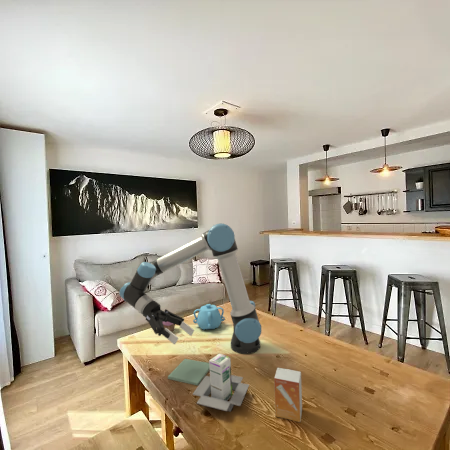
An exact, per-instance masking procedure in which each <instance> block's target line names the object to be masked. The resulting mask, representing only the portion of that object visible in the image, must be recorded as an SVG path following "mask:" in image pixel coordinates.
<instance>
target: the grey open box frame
mask: <svg viewBox="0 0 450 450" xmlns="http://www.w3.org/2000/svg"><path fill="white" fill-rule="evenodd" d="M231 378H232V391H233V393H232V394H233V395H232V396H231V397H230V398H229V401H228V400H227V401H225V400H221V399H216V398H212V397H211V396H210V395H211V383H210V375H205V377H204V378H203V379H202V381H201V382H200V383H199V385H198V386H197V387H196V389H195V390H194V392H193V393H192V395H193V396H197V397H199V398H198V400H197V402H196V405H201V406H204V407H208V408H213V409H216V410H221V411H224V412H230V413H231V411H232V410H233V408H234V406H238V407H241V406H242V403H243V401H244V398H245V397H246V393H247V392H248V389H249V386H250V384H248V383H243V382H242V381H243V379H244V377H243V376H240V375H234V374H231Z"/></svg>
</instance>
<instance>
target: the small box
mask: <svg viewBox="0 0 450 450" xmlns="http://www.w3.org/2000/svg"><path fill="white" fill-rule="evenodd" d="M273 384H274V409H275V410H274V412H275V413H274V414H275V417H278V418H282V419H285V420H289V421H293V422H297V423H301V421H302V420H301V419H302V412H303V395H302V393H303V391H302V389H303V388H302V372H301V371H300V370H299V371H298V370H293V369H288V368H282V367H276V371H275V375H274V383H273Z"/></svg>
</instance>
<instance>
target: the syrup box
mask: <svg viewBox="0 0 450 450" xmlns="http://www.w3.org/2000/svg"><path fill="white" fill-rule="evenodd" d="M208 363H209V366H210V370H209V376H210V383H211V393H210V395H211V396H210V397H212V398H216V399H221V400H225V401H228V400H230V399H231V397H232V396H233V394H234V393H233V390H232V378H231V375H232V363H231V357H230V356H227V354H223V353H218V354H217V355H214V357H212V358H211V359H209V361H208Z"/></svg>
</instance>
